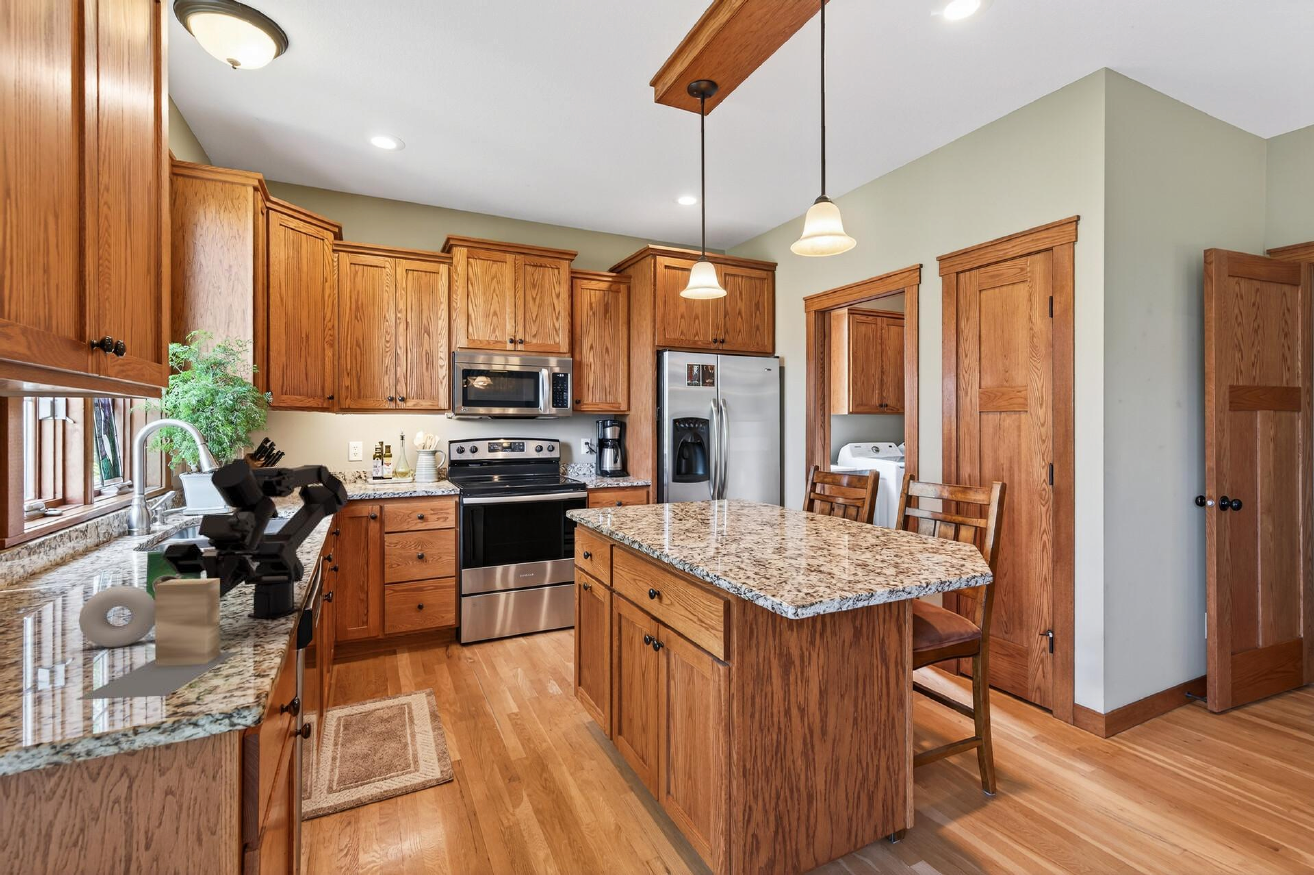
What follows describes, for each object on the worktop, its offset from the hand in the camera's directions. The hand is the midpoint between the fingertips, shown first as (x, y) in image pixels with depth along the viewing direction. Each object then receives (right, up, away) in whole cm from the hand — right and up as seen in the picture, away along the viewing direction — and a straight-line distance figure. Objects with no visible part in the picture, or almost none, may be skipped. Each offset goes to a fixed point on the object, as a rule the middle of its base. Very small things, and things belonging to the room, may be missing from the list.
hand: (209, 602), depth 97 cm
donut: (-16, -8, +2) cm, 18 cm away
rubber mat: (+1, -8, -10) cm, 13 cm away
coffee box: (-19, -8, +16) cm, 26 cm away
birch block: (+1, -7, -5) cm, 9 cm away
